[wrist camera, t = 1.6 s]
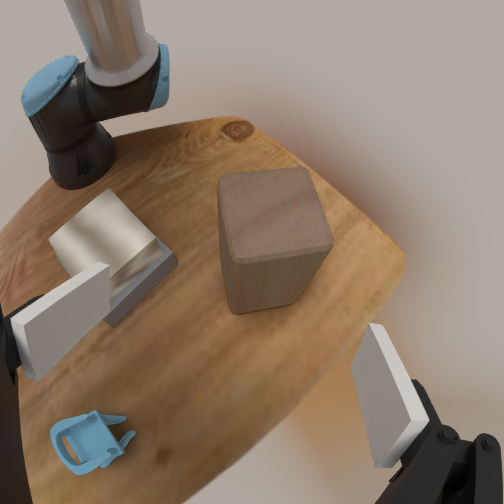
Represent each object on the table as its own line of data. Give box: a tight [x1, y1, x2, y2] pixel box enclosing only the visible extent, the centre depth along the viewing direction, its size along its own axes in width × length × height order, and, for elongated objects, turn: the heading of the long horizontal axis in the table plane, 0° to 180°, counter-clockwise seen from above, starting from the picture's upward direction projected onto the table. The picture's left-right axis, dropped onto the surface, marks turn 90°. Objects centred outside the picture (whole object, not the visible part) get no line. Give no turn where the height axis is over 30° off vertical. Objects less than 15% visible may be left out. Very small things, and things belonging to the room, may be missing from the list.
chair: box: [50, 410, 136, 475], centre depth 30 cm, size 8×8×12 cm
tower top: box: [48, 188, 163, 301], centre depth 40 cm, size 12×12×5 cm
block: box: [217, 167, 333, 314], centre depth 38 cm, size 10×10×20 cm
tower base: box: [56, 220, 177, 327], centre depth 45 cm, size 14×14×5 cm
